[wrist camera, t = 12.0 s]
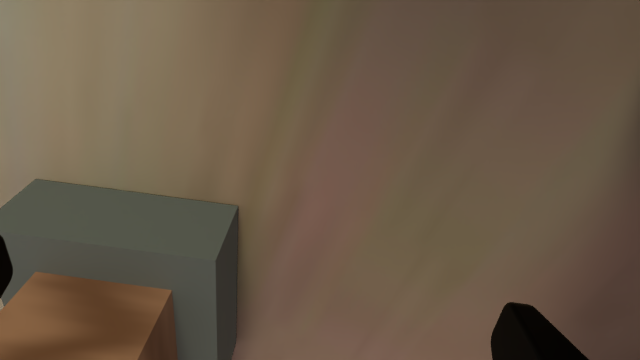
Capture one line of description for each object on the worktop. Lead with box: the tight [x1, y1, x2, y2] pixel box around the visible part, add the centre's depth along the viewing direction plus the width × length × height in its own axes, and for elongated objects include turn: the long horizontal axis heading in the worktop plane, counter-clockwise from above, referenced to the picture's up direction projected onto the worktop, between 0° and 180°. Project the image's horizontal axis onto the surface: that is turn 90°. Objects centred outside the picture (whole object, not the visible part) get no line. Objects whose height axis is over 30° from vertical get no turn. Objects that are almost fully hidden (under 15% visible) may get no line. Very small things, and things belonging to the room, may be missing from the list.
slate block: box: [0, 179, 238, 360], centre depth 23 cm, size 10×10×4 cm
